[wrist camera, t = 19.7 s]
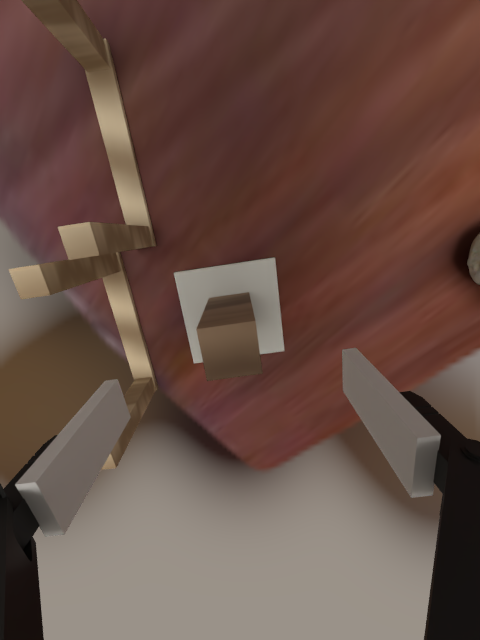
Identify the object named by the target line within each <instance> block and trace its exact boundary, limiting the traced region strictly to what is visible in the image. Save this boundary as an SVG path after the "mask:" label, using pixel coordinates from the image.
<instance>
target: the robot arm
mask: <svg viewBox="0 0 480 640" xmlns="http://www.w3.org/2000/svg"><path fill="white" fill-rule="evenodd" d="M342 363H343V392H344V393H345V395H346V396H347V398H348V399H349V401H350V403H351V404H352V406H353V407H354V409H355V410H356V412H357V413H358V415H359V417H360V418H361V420H362V421H363V423H364V424H365V426H366V428H367V429H368V431H369V432H370V434H371V435H372V437H373V438H374V440H375V442H376V443H377V445H378V446H379V448H380V449H381V451H382V453H383V454H384V456H385V457H386V459H387V460H388V462H389V464H390V465H391V466H392V468H393V470H394V471H395V473H396V474H397V476H398V478H399V479H400V481H401V482H402V484H403V485H404V487H405V489H406V490H407V492H408V493H409V495H410V496H411V498H412V497H421V496H430V495H433V490H434V483H435V484H436V486H437V487H438V488H439V490H440V491H441V492H442V493H443V496H442V503H441V510H440V519H439V527H438V534H437V542H436V551H435V558H434V566H433V574H432V582H431V589H430V597H429V605H428V613H427V620H426V629H425V636H424V640H480V442H479V441H476V440H471V439H467V438H466V437H464V436H463V435H462V434H461V433H460V432H459V431H458V430H457V429H456V428H455V427H454V426H453V425H452V424H450V423H449V422H448V421H447V420H446V419H445V418H444V417H443V416H442V415H441V414H439V413H438V412H437V411H436V410H435V409H434V408H433V407H431V405H430V404H429V403H428V402H427V401H425V399H423V398H422V397H421V396H419V395H416V394H415V393H413V392H411V391H406V392H398V391H397V390H396V389H395V388H394V386H393V385H392V384H391V383H390V382H389V381H388V380H387V379H386V378H385V377H384V376H383V375H382V374H381V373H380V372H379V371H378V370H377V369H376V368H375V367H374V366H373V365H372V364H371V363H370V362H369V361H368V360H367V359H366V358H365V357H364V356H363V355H362V354H361V353H360V352H359V351H358V350H357V348H351V349H343V350H342ZM130 418H131V416H130V414H129V411H128V408H127V405H126V402H125V399H124V396H123V393H122V390H121V387H120V384H119V382H118V379H115V380H107V381H104V383H103V384H102V385H101V386H100V387H99V389H98V390H97V391H96V392H95V393H94V394H93V395H92V397H91V398H90V399H89V400H88V401H87V402H86V403H85V405H84V406H83V407H82V408H81V409H80V410H79V411H78V413H77V414H76V415H75V416H74V417H73V418H72V420H71V421H70V422H69V423H68V424H67V425H66V426H65V428H64V429H63V430H62V431H61V432H60V433H59V434H58V435H56V436H54V437H53V438H51V439H50V440H49V441H47V442H46V443H45V444H43V446H42V447H41V448H40V449H39V450H38V451H37V452H36V453H35V456H33V457H32V458H31V459H30V460H29V461H28V464H25V466H24V467H23V468H22V469H21V470H20V471H19V472H18V473H17V475H16V476H15V477H14V478H13V479H12V480H11V481H10V482H9V484H8V485H7V486H6V487H5V488H4V489H3V487H2V486H1V484H0V640H44V638H43V626H42V615H41V601H40V589H39V577H38V565H37V553H36V542H35V540H34V538H33V537H32V536H33V535H34V533H35V532H36V530H37V528H38V527H40V528H41V530H42V532H43V534H44V535H45V536H54V535H55V536H56V535H64V534H65V532H66V531H67V529H68V527H69V525H70V524H71V522H72V520H73V518H74V517H75V515H76V513H77V511H78V509H79V508H80V506H81V504H82V502H83V501H84V499H85V497H86V495H87V493H88V492H89V490H90V488H91V487H92V485H93V483H94V481H95V479H96V477H97V476H98V474H99V472H100V471H101V469H102V467H103V465H104V464H105V462H106V460H107V458H108V457H109V455H110V453H111V451H112V449H113V448H114V446H115V444H116V442H117V441H118V439H119V437H120V435H121V434H122V432H123V430H124V428H125V427H126V425H127V423H128V421H129V419H130Z"/></svg>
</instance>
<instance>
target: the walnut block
mask: <svg viewBox="0 0 480 640" xmlns="http://www.w3.org/2000/svg"><path fill="white" fill-rule="evenodd" d="M196 331H197V335H198V340H199V345H200V350H201V354H202V359H203V364H204V369H205V373H206V378H207V381H211V380H218V379H226V378H233V377H240V376H248V375H255V374H263V373H262V366H261V358H260V351H259V343H258V336H257V328H256V321H255V316H254V312H253V307H252V303H251V299H250V294H249V292H246V293H240V294H233V295H226V296H219V297H212V298H209V299H208V302H207V304H206V306H205V309H204V311H203V314H202V316H201V319H200V321H199V324H198V326H197V329H196Z"/></svg>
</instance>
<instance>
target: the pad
mask: <svg viewBox="0 0 480 640" xmlns="http://www.w3.org/2000/svg"><path fill="white" fill-rule="evenodd" d="M174 277H175V281H176V286H177V290H178V295H179V299H180V304H181V308H182V313H183V317H184V322H185V326H186V331H187V335H188V339H189V344H190V348H191V353H192V357H193V362H194V363H201V362H203V359H202V354H201V350H200V345H199V340H198V335H197V331H196V329H197V326H198V324H199V321H200V319H201V316H202V314H203V311H204V309H205V306H206V304H207V302H208V299H209V298H212V297H219V296H226V295H233V294H240V293H246V292H249V294H250V299H251V303H252V307H253V312H254V316H255V321H256V328H257V336H258V343H259V351H260V354H266V353H273V352H281V351H284V342H283V332H282V322H281V312H280V302H279V292H278V282H277V272H276V262H275V257H273V258H266V259H259V260H253V261H246V262H239V263H233V264H226V265H219V266H212V267H206V268H199V269H192V270H186V271H179V272H174Z"/></svg>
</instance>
